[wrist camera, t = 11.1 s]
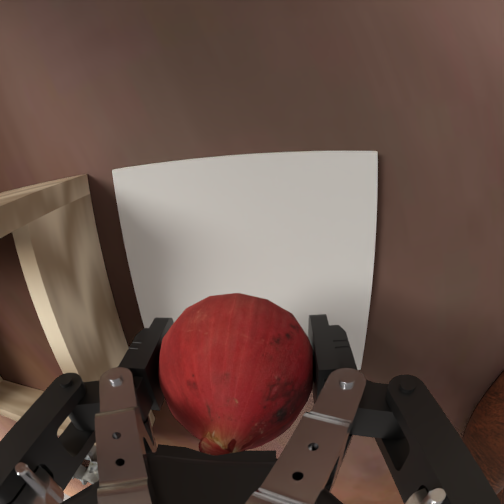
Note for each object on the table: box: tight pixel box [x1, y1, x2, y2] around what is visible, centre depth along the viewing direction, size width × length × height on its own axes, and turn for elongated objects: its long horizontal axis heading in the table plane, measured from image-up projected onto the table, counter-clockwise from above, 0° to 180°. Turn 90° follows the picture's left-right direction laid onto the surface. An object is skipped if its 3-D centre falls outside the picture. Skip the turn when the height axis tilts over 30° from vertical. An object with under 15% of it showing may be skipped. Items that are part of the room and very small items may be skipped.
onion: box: [158, 293, 313, 455], centre depth 12 cm, size 6×6×8 cm
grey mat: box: [112, 151, 378, 370], centre depth 18 cm, size 14×14×1 cm
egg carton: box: [72, 445, 99, 485], centre depth 27 cm, size 11×8×4 cm
